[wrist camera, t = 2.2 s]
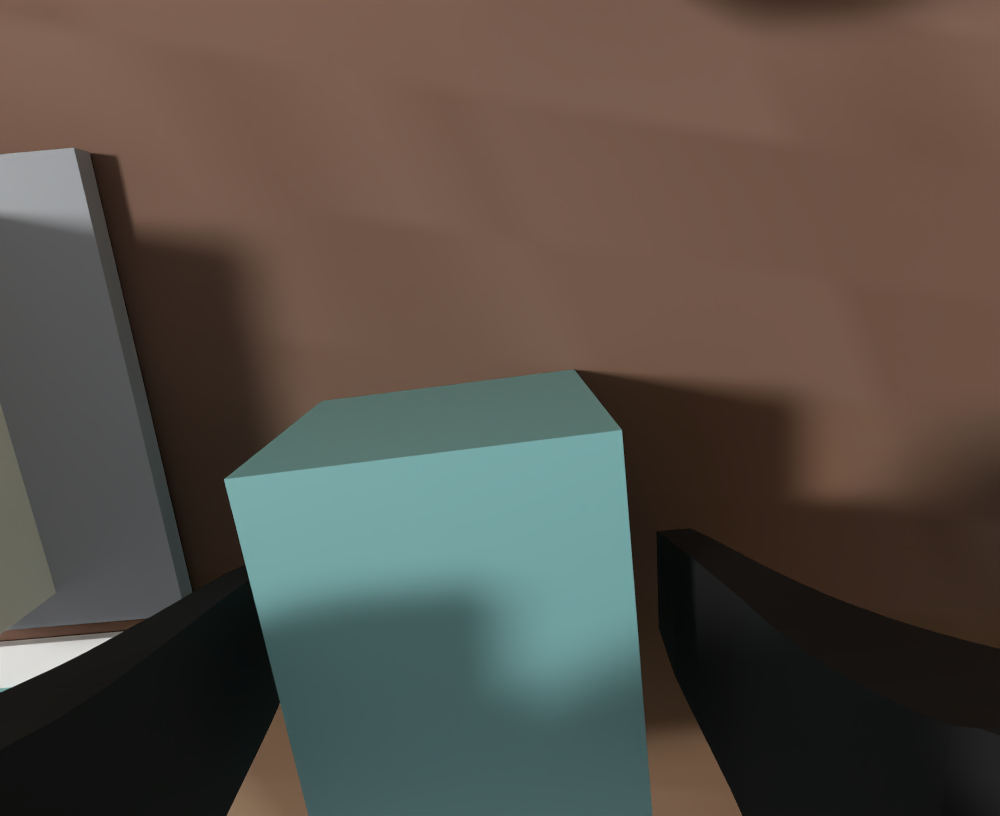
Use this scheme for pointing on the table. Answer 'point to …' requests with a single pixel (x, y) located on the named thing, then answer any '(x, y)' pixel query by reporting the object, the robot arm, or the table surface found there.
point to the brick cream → (18, 543)
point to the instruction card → (42, 655)
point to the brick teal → (452, 601)
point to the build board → (79, 401)
